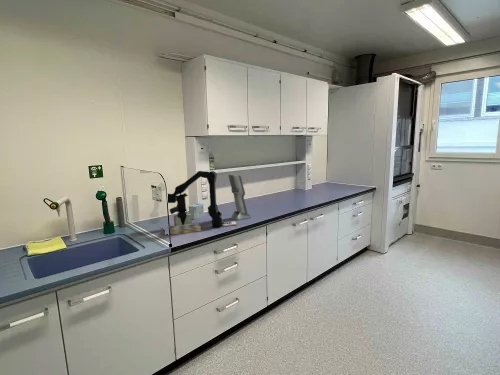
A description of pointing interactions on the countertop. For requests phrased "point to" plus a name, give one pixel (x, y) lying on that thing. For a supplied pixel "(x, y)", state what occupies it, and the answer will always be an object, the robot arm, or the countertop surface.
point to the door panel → (178, 221)
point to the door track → (185, 228)
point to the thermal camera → (238, 197)
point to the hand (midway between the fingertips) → (183, 223)
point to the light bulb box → (196, 211)
